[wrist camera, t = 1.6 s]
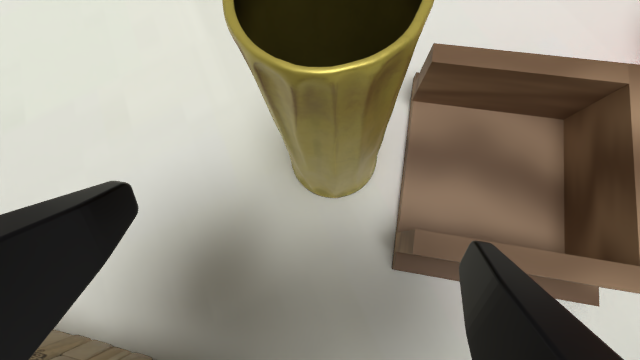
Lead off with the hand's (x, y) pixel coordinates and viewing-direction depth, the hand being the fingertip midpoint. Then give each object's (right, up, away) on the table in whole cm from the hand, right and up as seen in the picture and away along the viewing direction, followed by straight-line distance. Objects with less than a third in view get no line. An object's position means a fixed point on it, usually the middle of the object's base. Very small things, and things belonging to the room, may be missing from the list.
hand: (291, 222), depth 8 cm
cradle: (+12, +1, +12) cm, 17 cm away
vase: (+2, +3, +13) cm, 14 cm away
